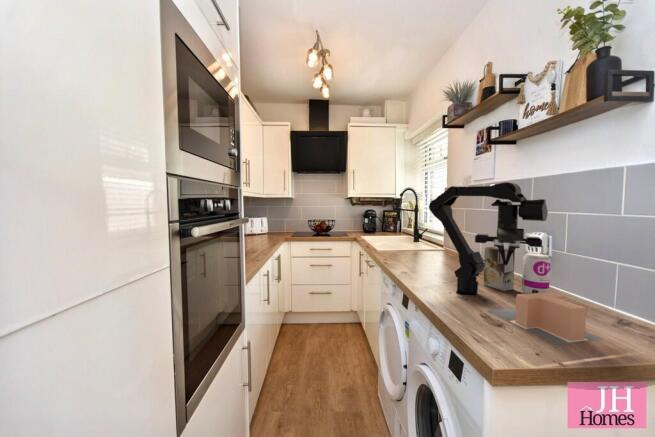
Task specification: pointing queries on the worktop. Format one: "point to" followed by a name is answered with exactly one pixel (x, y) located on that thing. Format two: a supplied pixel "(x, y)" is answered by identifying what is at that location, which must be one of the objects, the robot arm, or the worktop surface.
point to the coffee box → (498, 269)
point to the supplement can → (536, 273)
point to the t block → (551, 314)
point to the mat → (548, 336)
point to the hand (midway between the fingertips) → (505, 265)
